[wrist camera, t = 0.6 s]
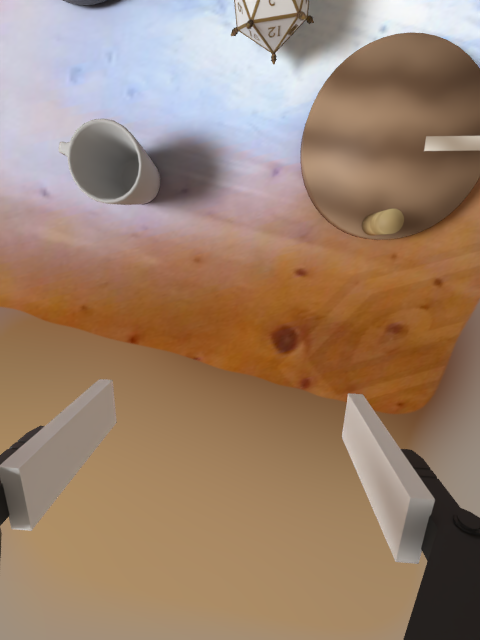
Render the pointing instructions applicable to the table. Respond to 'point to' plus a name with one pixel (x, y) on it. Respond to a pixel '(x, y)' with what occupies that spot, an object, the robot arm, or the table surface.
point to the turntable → (394, 137)
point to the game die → (270, 21)
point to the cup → (111, 164)
